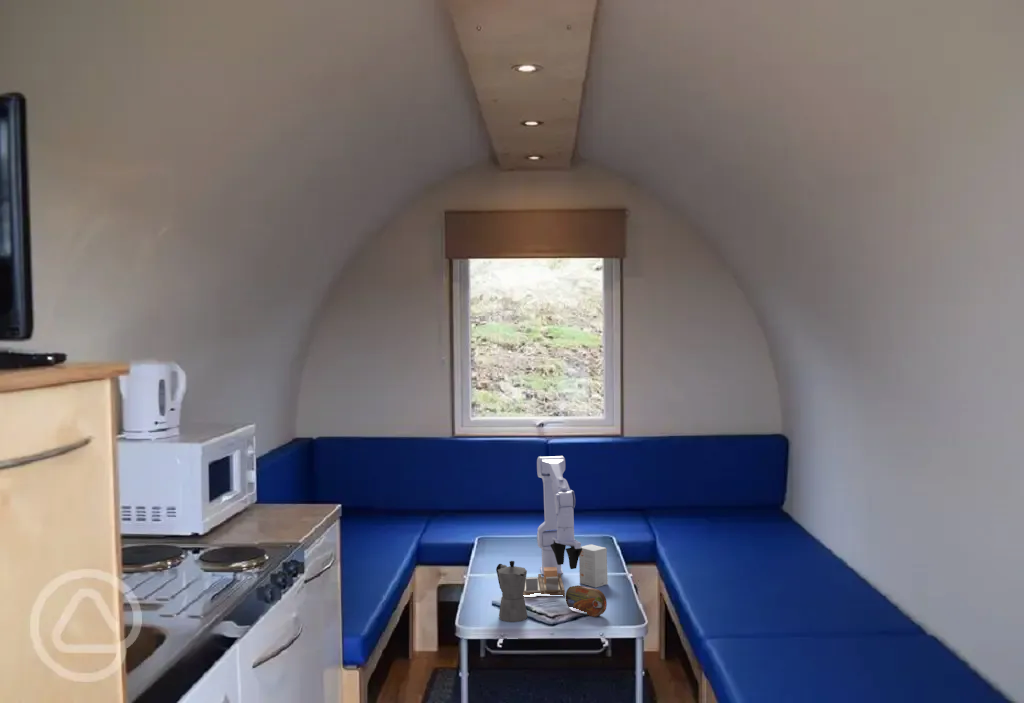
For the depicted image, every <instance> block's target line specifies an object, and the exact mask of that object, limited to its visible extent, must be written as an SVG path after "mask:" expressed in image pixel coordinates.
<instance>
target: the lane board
mask: <svg viewBox="0 0 1024 703" xmlns="http://www.w3.org/2000/svg"><path fill="white" fill-rule="evenodd" d="M536 577H537V578H538V582H539V587H540V592H526V593H524V592H523V595H530V594H534V593H541V594H550V595H563V596H562V597H566V591H565V586H564V583H563V578H562V574H560V573H558V574H557V577H558V582H559V586H560V592H545V591H544V586H543V580H542V578H544V576H542V574H541V573H538V574H537V576H536Z"/></svg>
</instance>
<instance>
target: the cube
mask: <svg viewBox="0 0 1024 703" xmlns="http://www.w3.org/2000/svg"><path fill="white" fill-rule="evenodd" d="M543 577H544V583H545V584H546V577H558V574H557V568H556V567H544V575H543Z"/></svg>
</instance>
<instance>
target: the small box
mask: <svg viewBox="0 0 1024 703" xmlns="http://www.w3.org/2000/svg"><path fill="white" fill-rule="evenodd" d="M581 548H582V551H581V553H580V555H579V558H578V563H579V566H578V567H579V568H578V569H579V584H582V585H584V586H585V585H586V586H587V587H591V588H594V589H597V588H600V587H602V586H605V585H608V549H607V548H606V547H604V546H600V545H595V544H592V543H591V544H586V545H581Z"/></svg>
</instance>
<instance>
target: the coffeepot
mask: <svg viewBox="0 0 1024 703" xmlns="http://www.w3.org/2000/svg"><path fill="white" fill-rule="evenodd" d="M495 570H496V575H497V579H498V584H499V585H498V586H499V589H500V590H501V594H502V596H501V598H500V605H499V613H498V617H499V619H500V620H501V621H503V622H507V623H517V622H523V621H525V620H526V619H527V618H528V612H527V606H526V600H525V598H524V596H523V592H524V591H525V582H526V577H527V573H528V570H527V569H526V567H521V566H515V561H514V560H510V561H509V566H507V565H506V564H502V563H499V564H497V566H496V569H495Z"/></svg>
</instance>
